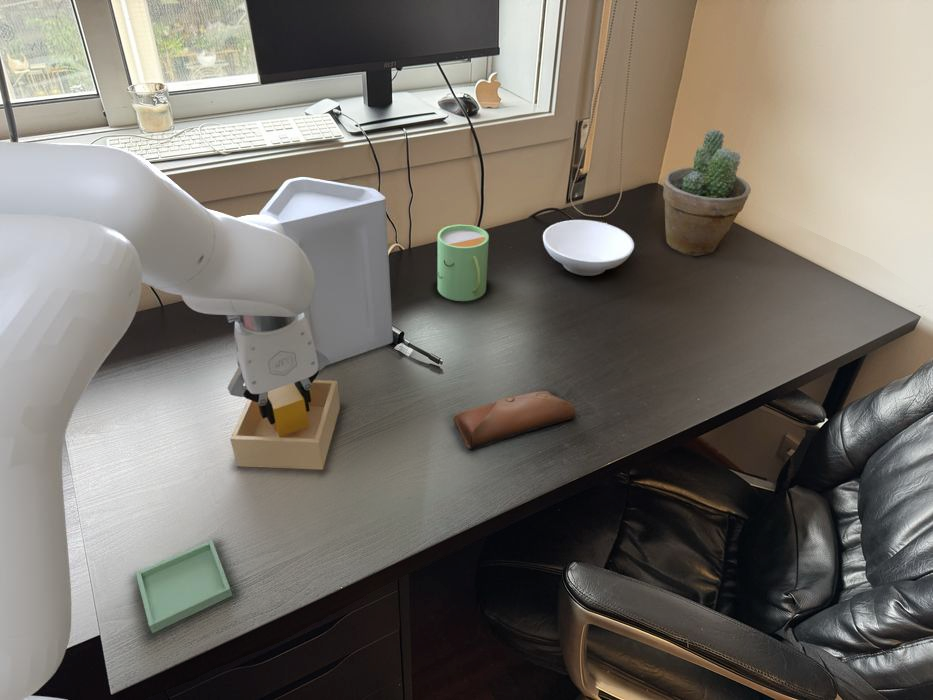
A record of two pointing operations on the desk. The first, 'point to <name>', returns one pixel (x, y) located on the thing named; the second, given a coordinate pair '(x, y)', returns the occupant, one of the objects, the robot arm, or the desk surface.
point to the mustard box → (288, 409)
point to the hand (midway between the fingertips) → (286, 411)
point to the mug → (462, 262)
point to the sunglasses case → (511, 417)
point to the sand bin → (294, 450)
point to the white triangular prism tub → (340, 261)
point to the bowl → (587, 246)
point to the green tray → (182, 585)
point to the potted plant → (703, 198)
